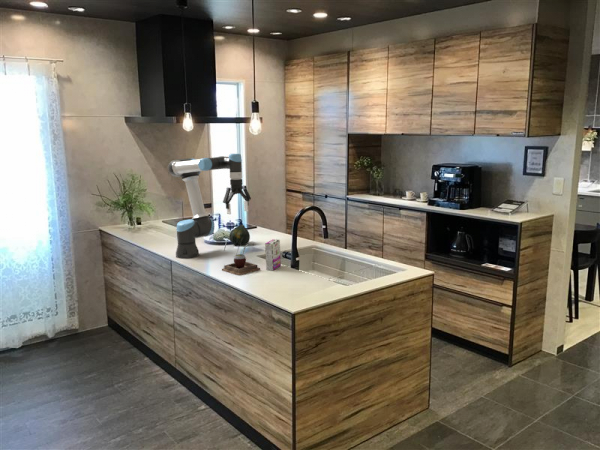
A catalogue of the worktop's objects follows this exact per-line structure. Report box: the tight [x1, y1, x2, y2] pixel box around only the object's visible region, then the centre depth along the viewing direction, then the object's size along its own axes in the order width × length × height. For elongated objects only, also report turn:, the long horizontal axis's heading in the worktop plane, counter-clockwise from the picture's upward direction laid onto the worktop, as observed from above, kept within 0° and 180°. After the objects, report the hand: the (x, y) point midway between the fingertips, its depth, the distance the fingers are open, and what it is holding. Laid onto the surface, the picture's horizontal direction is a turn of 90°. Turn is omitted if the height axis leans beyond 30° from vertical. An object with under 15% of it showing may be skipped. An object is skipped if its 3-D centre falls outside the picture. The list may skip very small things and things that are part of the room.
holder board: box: [221, 261, 261, 276], centre depth 306 cm, size 16×16×3 cm
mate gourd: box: [233, 243, 249, 269], centre depth 305 cm, size 8×8×15 cm
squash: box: [228, 224, 251, 246], centre depth 373 cm, size 14×15×15 cm
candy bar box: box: [264, 238, 282, 271], centre depth 308 cm, size 11×5×16 cm, turn 158°
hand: (237, 212), depth 324 cm, fingers open, 13 cm apart
